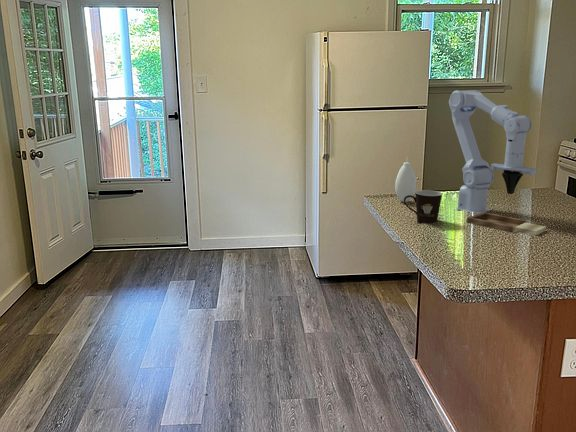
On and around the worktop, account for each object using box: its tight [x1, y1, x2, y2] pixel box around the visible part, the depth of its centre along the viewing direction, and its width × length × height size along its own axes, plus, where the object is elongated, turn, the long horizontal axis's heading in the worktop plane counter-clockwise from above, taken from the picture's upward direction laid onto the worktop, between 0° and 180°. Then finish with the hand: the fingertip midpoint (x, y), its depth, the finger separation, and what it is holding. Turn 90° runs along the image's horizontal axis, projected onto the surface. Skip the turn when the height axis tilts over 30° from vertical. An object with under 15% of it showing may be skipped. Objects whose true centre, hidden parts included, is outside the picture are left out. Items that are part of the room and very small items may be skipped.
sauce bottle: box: [394, 155, 417, 203], centre depth 208 cm, size 8×8×18 cm
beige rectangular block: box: [514, 222, 547, 237], centre depth 169 cm, size 6×8×2 cm
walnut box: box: [466, 211, 528, 233], centre depth 177 cm, size 15×11×2 cm
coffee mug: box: [403, 189, 443, 224], centre depth 181 cm, size 12×9×10 cm
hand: (510, 193), depth 181 cm, fingers closed
